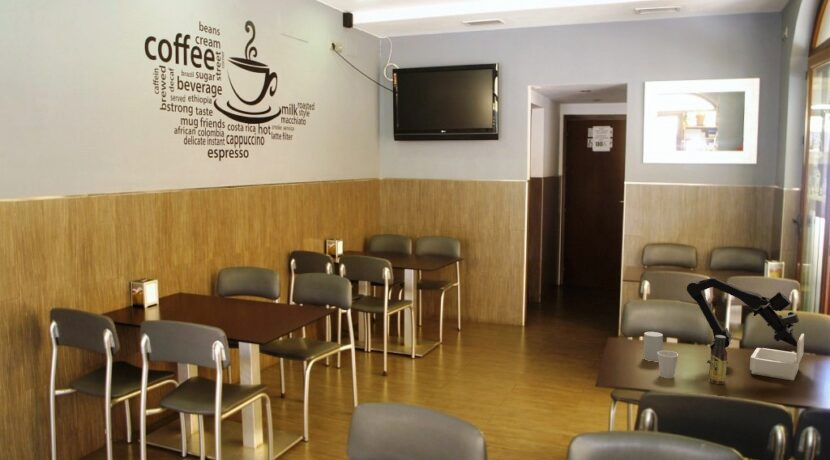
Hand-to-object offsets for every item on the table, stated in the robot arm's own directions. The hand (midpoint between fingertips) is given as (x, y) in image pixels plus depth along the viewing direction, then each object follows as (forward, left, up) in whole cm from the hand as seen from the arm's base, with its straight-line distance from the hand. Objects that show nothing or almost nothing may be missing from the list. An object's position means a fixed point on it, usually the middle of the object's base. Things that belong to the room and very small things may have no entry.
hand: (798, 346), depth 291 cm
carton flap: (0, 0, 0) cm, 0 cm away
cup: (-32, +49, -13) cm, 60 cm away
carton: (-3, +8, -12) cm, 15 cm away
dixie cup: (-47, +31, -13) cm, 58 cm away
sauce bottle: (-37, +14, -13) cm, 41 cm away
